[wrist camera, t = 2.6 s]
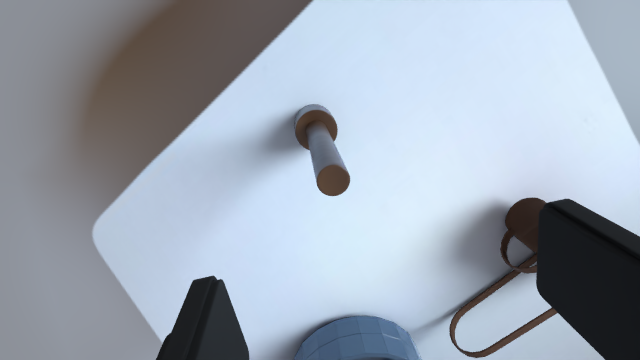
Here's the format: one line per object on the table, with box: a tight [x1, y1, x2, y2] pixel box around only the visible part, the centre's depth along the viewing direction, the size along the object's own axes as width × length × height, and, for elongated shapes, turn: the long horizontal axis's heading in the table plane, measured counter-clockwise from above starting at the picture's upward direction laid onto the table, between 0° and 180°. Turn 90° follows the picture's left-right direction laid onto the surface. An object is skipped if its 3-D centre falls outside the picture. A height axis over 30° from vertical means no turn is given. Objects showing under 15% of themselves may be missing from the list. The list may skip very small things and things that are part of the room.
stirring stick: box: [295, 104, 350, 196], centre depth 26 cm, size 4×4×15 cm
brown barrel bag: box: [450, 198, 558, 358], centre depth 37 cm, size 18×12×7 cm, turn 142°
